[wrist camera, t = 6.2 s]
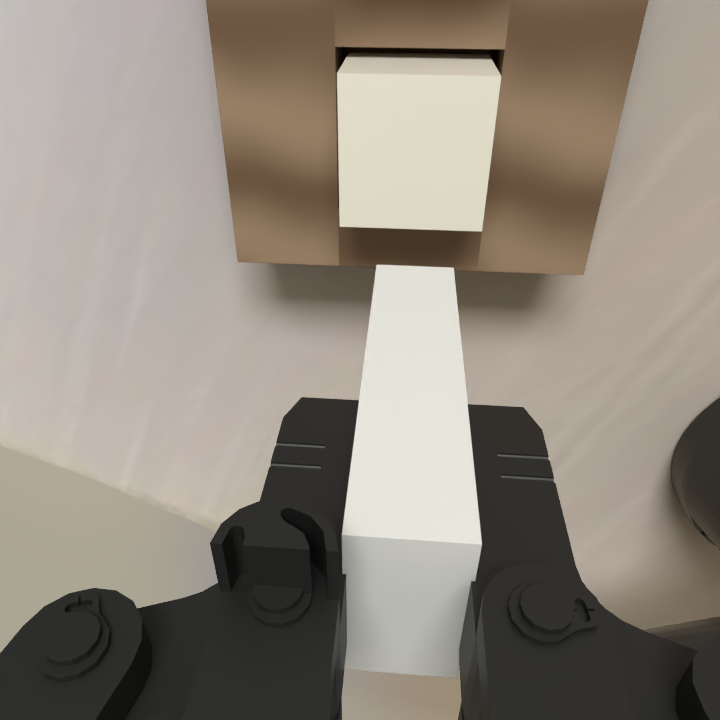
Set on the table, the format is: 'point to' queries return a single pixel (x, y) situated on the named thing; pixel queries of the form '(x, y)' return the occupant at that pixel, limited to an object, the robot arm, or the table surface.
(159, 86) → the table surface
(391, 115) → the button
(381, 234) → the wooden button box
